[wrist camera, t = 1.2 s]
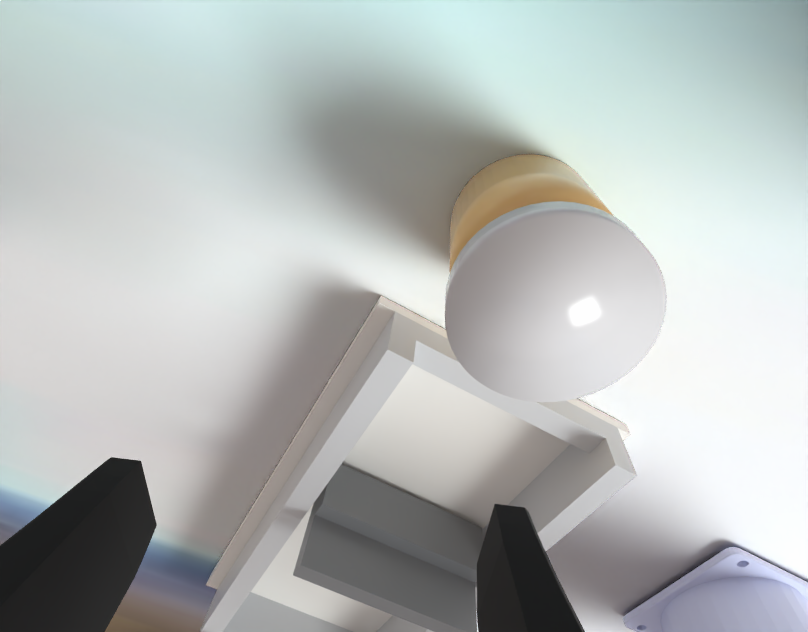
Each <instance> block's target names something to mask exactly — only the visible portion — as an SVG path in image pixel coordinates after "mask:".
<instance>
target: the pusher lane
mask: <svg viewBox="0 0 808 632" xmlns="http://www.w3.org/2000/svg"><path fill="white" fill-rule="evenodd" d="M630 435H631V434H630V432H629V429H628V427H627V425H626V424H624V423H622V422H620V421H618V420H617V419H615V418H613V417H611V416H609V415H607V414H605V413H603V412H601V411H599V410H598V409H596V408H594V407H592V406H590V405H588V404H586V403H584V402H582V401H581V400H579V399H577V398H576V399H571V400H567V401H558V402H532V401H524V400H519V399H514V398H511V397H508V396H505V395H502V394H500V393H497V392H495V391H493V390H491V389H489V388H487V387H486V386H484V385H482V384H481V383H480V382H478V381H477V380H476V379H474V378H473V377H472V376H471V375H470V374H469V373H468V372H467V371H466V370H465V369H464V368H463V366H462V365H461V364H460V362H459V361H458V360H457V358H456V356H455V354H454V353H453V351H452V349H451V346H450V343H449V341H448V337H447V332H446V329H444V328H442V327H440V326H438V325H436V324H434V323H432V322H430V321H429V320H427V319H425V318H423V317H421V316H419V315H417V314H415V313H413V312H411V311H410V310H408V309H406V308H404V307H402V306H400V305H398V304H396V303H394V302H392V301H391V300H389V299H387V298H385V297H383V296H380V298H379V299H378V301H377V303H376V304H375V306H374V308H373V309H372V311H371V313H370V314H369V316H368V317H367V319H366V321H365V322H364V324H363V326H362V327H361V329H360V331H359V332H358V334H357V335H356V337H355V339H354V340H353V342H352V344H351V345H350V347H349V349H348V350H347V352H346V353H345V355H344V357H343V358H342V360H341V362H340V363H339V365H338V367H337V368H336V370H335V372H334V373H333V375H332V376H331V378H330V380H329V381H328V383H327V385H326V386H325V388H324V390H323V391H322V393H321V394H320V396H319V398H318V399H317V401H316V403H315V404H314V406H313V408H312V409H311V411H310V412H309V414H308V416H307V417H306V419H305V421H304V422H303V424H302V426H301V427H300V429H299V430H298V432H297V434H296V435H295V437H294V439H293V440H292V442H291V444H290V445H289V447H288V449H287V450H286V452H285V453H284V455H283V457H282V458H281V460H280V462H279V463H278V465H277V467H276V468H275V470H274V471H273V473H272V475H271V476H270V478H269V480H268V481H267V483H266V485H265V486H264V488H263V489H262V491H261V493H260V494H259V496H258V498H257V499H256V501H255V503H254V504H253V506H252V508H251V509H250V511H249V512H248V514H247V516H246V517H245V519H244V521H243V522H242V524H241V526H240V527H239V529H238V530H237V532H236V534H235V535H234V537H233V539H232V540H231V542H230V544H229V545H228V547H227V548H226V550H225V552H224V553H223V555H222V557H221V558H220V560H219V562H218V563H217V565H216V566H215V568H214V570H213V571H212V573H211V575H210V577H209V579H208V581H207V583H206V585H207V586H209V587H212V588H215V589H217V591H216V593H215V595H214V598H213V600H212V603H211V605H210V607H209V610H208V612H207V615H206V617H205V619H204V622H203V624H202V627H201V629H200V631H199V632H434V631H431V630H429V629H426V628H424V627H421V626H419V625H416V624H414V623H411V622H409V621H406V620H404V619H401V618H399V617H396V616H394V615H391V614H389V613H386V612H384V611H381V610H379V609H376V608H374V607H371V606H369V605H366V604H364V603H361V602H359V601H356V600H354V599H351V598H349V597H346V596H344V595H341V594H339V593H336V592H334V591H331V590H328V589H326V588H323V587H321V586H318V585H316V584H313V583H311V582H308V581H306V580H303V579H301V578H298V577H296V576H293V572H294V569H295V565H296V562H297V559H298V555H299V552H300V548H301V545H302V541H303V538H304V535H305V531H306V528H307V524H308V521H309V517H310V514H311V510H312V507H313V504H314V502H315V501H316V499H317V498H318V496H319V495H320V494H321V492H322V491H323V489H324V488H325V486H326V485H327V484H328V482H329V481H330V479H331V478H332V477H333V475H334V474H335V472H336V471H337V470H338V468H339V467H340V465H341V464H342V465H345V466H347V467H349V468H351V469H353V470H356V471H358V472H360V473H362V474H365V475H367V476H369V477H371V478H373V479H376V480H378V481H380V482H382V483H384V484H387V485H389V486H391V487H393V488H396V489H398V490H400V491H402V492H404V493H407V494H409V495H411V496H413V497H416V498H418V499H420V500H422V501H424V502H427V503H429V504H431V505H433V506H435V507H438V508H440V509H442V510H444V511H447V512H449V513H451V514H453V515H455V516H458V517H460V518H462V519H464V520H467V521H469V522H471V523H473V524H475V525H478V526H480V527H482V533H483V541H484V538H485V535H486V531H487V528H488V525H489V521H490V518H491V515H492V511H493V508H494V505H495V504H501V505H509V506H517V507H525V508H526V509H527V510H528V512H529V514H530V516H531V519H532V521H533V524H534V526H535V529H536V531H537V533H538V536H539V538H540V540H541V543H542V545H543V547H544V549H545V552H546V551H547V550H549V549H550V548H551V547H552V546H553V545H555V544H556V543H557V542H558V541H559V540H561V539H562V538H563V537H564V536H565V535H567V534H568V533H569V532H570V531H571V530H573V529H574V528H575V527H576V526H577V525H579V524H580V523H581V522H582V521H583V520H585V519H586V518H587V517H588V516H589V515H591V514H592V513H593V512H594V511H595V510H596V509H598V508H599V507H600V506H601V505H602V504H604V503H605V502H606V501H607V500H608V499H610V498H611V497H612V496H613V495H614V494H616V493H617V492H618V491H619V490H620V489H622V488H623V487H624V486H625V485H626V484H628V483H629V482H630V481H631V480H632V479H634V478H635V477H636V476H637V475H636V472H635V470H634V467H633V465H632V462H631V460H630V457H629V455H628V452H627V450H626V447H625V445H624V443H623V441H624V440H625V439H626V438H627V437H628V436H630ZM475 596H476V610H477V582H475Z"/></svg>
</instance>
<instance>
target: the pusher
mask: <svg viewBox="0 0 808 632" xmlns="http://www.w3.org/2000/svg"><path fill="white" fill-rule="evenodd" d="M482 545H483V533H482V527H480V526H478V525H475V524H473V523H471V522H469V521H467V520H464V519H462V518H460V517H458V516H455V515H453V514H451V513H449V512H447V511H444V510H442V509H440V508H438V507H435V506H433V505H431V504H429V503H427V502H424V501H422V500H420V499H418V498H416V497H413V496H411V495H409V494H407V493H404V492H402V491H400V490H398V489H396V488H393V487H391V486H389V485H387V484H384V483H382V482H380V481H378V480H376V479H373V478H371V477H369V476H367V475H365V474H362V473H360V472H358V471H356V470H353V469H351V468H349V467H347V466H345V465H342V464H341V465H340V467H339V468H338V470H337V471H336V472H335V474H334V475H333V477H332V478H331V479H330V481H329V482H328V484H327V485H326V486H325V488H324V489H323V491H322V492H321V494H320V495H319V496H318V498H317V499H316V501H315V502H314V504H313V507H312V510H311V514H310V517H309V521H308V524H307V528H306V531H305V535H304V538H303V541H302V545H301V548H300V552H299V555H298V559H297V562H296V565H295V569H294V572H293V576H296V577H298V578H301V579H303V580H306V581H308V582H311V583H313V584H316V585H318V586H321V587H323V588H326V589H328V590H331V591H334V592H336V593H339V594H341V595H344V596H346V597H349V598H351V599H354V600H356V601H359V602H361V603H364V604H366V605H369V606H371V607H374V608H376V609H379V610H381V611H384V612H386V613H389V614H391V615H394V616H396V617H399V618H401V619H404V620H406V621H409V622H411V623H414V624H416V625H419V626H421V627H424V628H426V629H429V630H431V631H434V632H477V622H476V596H475V582H477V562H478V558H479V555H480V551H481V548H482Z"/></svg>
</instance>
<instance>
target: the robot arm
mask: <svg viewBox="0 0 808 632" xmlns="http://www.w3.org/2000/svg"><path fill="white" fill-rule="evenodd" d="M155 528H156V521H155V517H154V513H153V508H152V504H151V500H150V496H149V492H148V488H147V484H146V480H145V476H144V472H143V468H142V464H141V461H137V460H129V459H120V458H112V457H111V458H110V459H108V460H107V461H106V462H104V463H103V464H102V465H101V466H99V467H98V468H97V469H96V470H94V471H93V472H92V473H91V474H89V475H88V476H87V477H86V478H84V479H83V480H82V481H81V482H79V483H78V484H77V485H76V486H74V487H73V488H72V489H71V490H70V491H68V492H67V493H66V494H65V495H63V496H62V497H61V498H60V499H58V500H57V501H56V502H55V503H53V504H52V505H51V506H50V507H49V508H47V509H46V510H45V511H44V512H42V513H41V514H40V515H39V516H37V517H36V518H35V519H34V520H32V521H31V522H30V523H28V524H27V525H26V526H25V527H23V528H22V529H21V530H19V531H18V532H17V533H16V534H14V535H13V536H12V537H10V538H9V539H8V540H7V541H5V542H4V543H3V544H2V545H0V632H105V630H106V628H107V626H108V624H109V623H110V621H111V619H112V617H113V615H114V614H115V612H116V610H117V608H118V606H119V605H120V603H121V601H122V599H123V597H124V596H125V594H126V592H127V590H128V588H129V587H130V585H131V583H132V581H133V579H134V577H135V575H136V573H137V571H138V568H139V566H140V564H141V562H142V559H143V557H144V555H145V552H146V550H147V548H148V545H149V543H150V540H151V538H152V535H153V533H154V530H155ZM477 620H478V630H479V632H585V631H584V629H583V627H582V625H581V623H580V621H579V619H578V617H577V616H576V614H575V612H574V610H573V608H572V606H571V604H570V602H569V600H568V598H567V596H566V594H565V592H564V590H563V588H562V586H561V584H560V582H559V580H558V578H557V576H556V573H555V571H554V569H553V567H552V565H551V563H550V561H549V558H548V556H547V554H546V552H545V549H544V547H543V545H542V543H541V540H540V538H539V536H538V533H537V531H536V529H535V526H534V524H533V521H532V519H531V516H530V514H529V512H528V510H527V509H526V508H525V507H517V506H509V505H501V504H495V505H494V508H493V511H492V515H491V518H490V521H489V525H488V528H487V531H486V535H485V538H484V541H483V545H482V548H481V551H480V555H479V558H478V562H477ZM623 620H624V623H625V626H626V627H628V628H630V629H632V630H634V631H636V632H808V582H806V581H804V580H802V579H800V578H798V577H796V576H794V575H792V574H790V573H788V572H786V571H784V570H782V569H780V568H778V567H776V566H774V565H772V564H770V563H768V562H766V561H764V560H762V559H760V558H758V557H756V556H754V555H752V554H750V553H748V552H746V551H744V550H742V549H740V548H736V547H729V548H726V549H724V550H723V551H721V552H720V553H718V554H717V555H715V556H714V557H712V558H711V559H709V560H708V561H706V562H704V563H703V564H701V565H700V566H698V567H697V568H695V569H694V570H692V571H691V572H689V573H688V574H686V575H685V576H683V577H682V578H680V579H679V580H677V581H676V582H674V583H673V584H671V585H670V586H668V587H667V588H665V589H664V590H662V591H661V592H659V593H658V594H656V595H655V596H653V597H651V598H650V599H648V600H647V601H645V602H644V603H642V604H641V605H639V606H638V607H636V608H635V609H633V610H632V611H630V612H629V613H627V614H626V615H625V616H624V617H623Z"/></svg>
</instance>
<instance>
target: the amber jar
mask: <svg viewBox="0 0 808 632" xmlns="http://www.w3.org/2000/svg"><path fill="white" fill-rule="evenodd" d="M666 298H667V296H666V288H665V282H664V279H663V276H662V272H661V270H660V268H659V266H658V264H657V262H656V260H655V259H654V257H653V256H652V254H651V253H650V252H649V250H648V249H647V248H646V247H645V246H644V244H643V243H642V242H641V241H640V240H639V239H638V237H637V236H636V235H635V234H634V233H633V232H632V231H631V230H630V229H629V228H628V227H627V226H626V225H625V224H624V223H623V222H621V221H620V220H618V219H617V218H616V217H614V216H613V215H612V213H611V212H610V211H609V210H608V209H607V207H606V206H605V205H604V204H603V203H602V201H601V200H600V199H599V198H598V197H597V195H596V194H595V193H594V192H593V191H592V189H591V188H590V187H589V186H588V185H587V183H586V182H585V181H584V180H583V179H582V177H581V176H580V175H579V174H578V173H577V172H576V171H575V170H574V169H572V168H571V167H569V166H568V165H567V164H565V163H563V162H561V161H559V160H557V159H554V158H551V157H548V156H543V155H536V154H522V155H515V156H510V157H506V158H503V159H500V160H498V161H496V162H494V163H492V164H490V165H488V166H487V167H485V168H483V169H482V170H481V171H479V172H478V173H477V174H476V175H475V176H473V177H472V179H471V180H470V181H469V182H468V183H467V184H466V185H465V187H464V188H463V190H462V191H461V193H460V194H459V196H458V198H457V200H456V203H455V205H454V208H453V212H452V216H451V224H450V274H449V278H448V282H447V287H446V297H445V326H446V332H447V337H448V341H449V343H450V346H451V349H452V351H453V353H454V354H455V356H456V358H457V360H458V361H459V362H460V364H461V365H462V366H463V368H464V369H465V370H466V371H467V372H468V373H469V374H470V375H471V376H472V377H473V378H474V379H476V380H477V381H478V382H480V383H481V384H482V385H484V386H486V387H487V388H489V389H491V390H493V391H495V392H497V393H500V394H502V395H505V396H508V397H511V398H514V399H519V400H524V401H532V402H558V401H567V400H571V399H576V398H580V397H584V396H587V395H590V394H593V393H595V392H597V391H600V390H602V389H604V388H606V387H608V386H610V385H612V384H613V383H615V382H617V381H618V380H620V379H621V378H622V377H624V376H625V375H627V374H628V373H629V372H630V371H631V370H632V369H634V368H635V367H636V366H637V365H638V364H639V363H640V362H641V361H642V359H643V358H644V357H645V356H646V355H647V353H648V352H649V350H650V349H651V348H652V346H653V345H654V343H655V341H656V339H657V337H658V335H659V333H660V330H661V327H662V325H663V322H664V317H665V312H666Z"/></svg>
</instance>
